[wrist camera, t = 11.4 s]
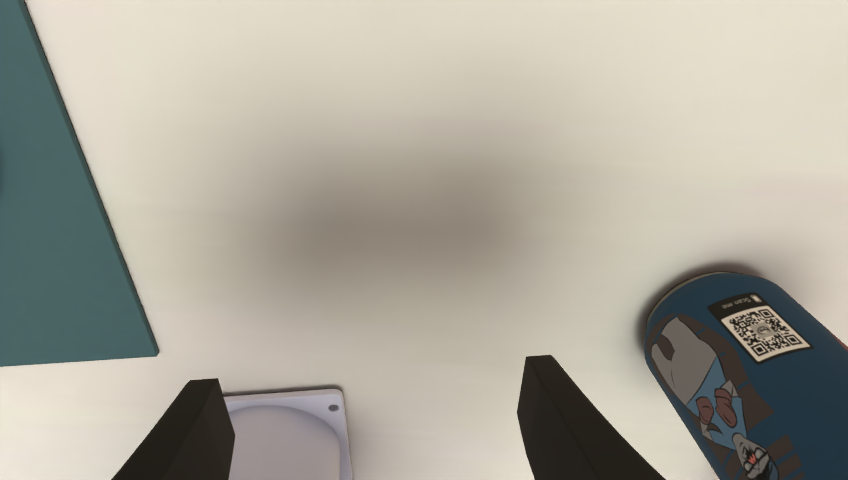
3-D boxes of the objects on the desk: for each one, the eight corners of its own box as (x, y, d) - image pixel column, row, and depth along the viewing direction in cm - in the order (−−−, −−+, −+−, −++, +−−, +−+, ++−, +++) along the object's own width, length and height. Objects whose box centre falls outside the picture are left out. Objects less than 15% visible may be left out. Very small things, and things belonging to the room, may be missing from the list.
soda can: (765, 343, 27) (1010, 601, 16) (637, 380, 27) (798, 651, 17) (775, 240, 23) (1099, 492, 13) (626, 286, 23) (823, 562, 13)
